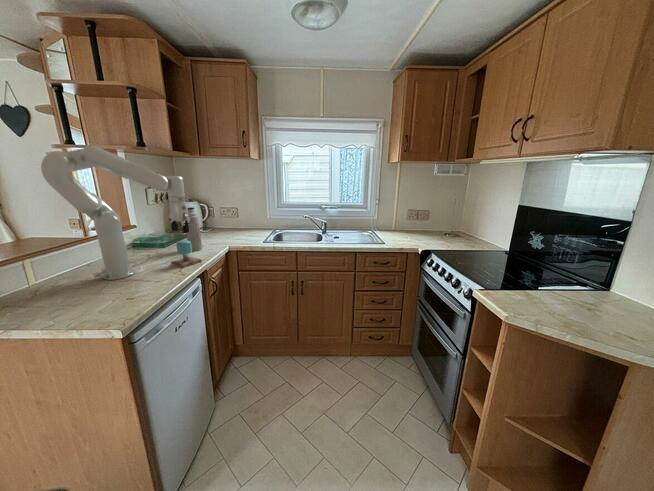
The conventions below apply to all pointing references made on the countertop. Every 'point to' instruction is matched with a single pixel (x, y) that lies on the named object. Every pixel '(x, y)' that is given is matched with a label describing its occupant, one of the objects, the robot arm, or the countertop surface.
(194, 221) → the thermos bottle
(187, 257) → the post
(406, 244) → the countertop surface
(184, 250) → the teal block
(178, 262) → the post board
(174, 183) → the robot arm
